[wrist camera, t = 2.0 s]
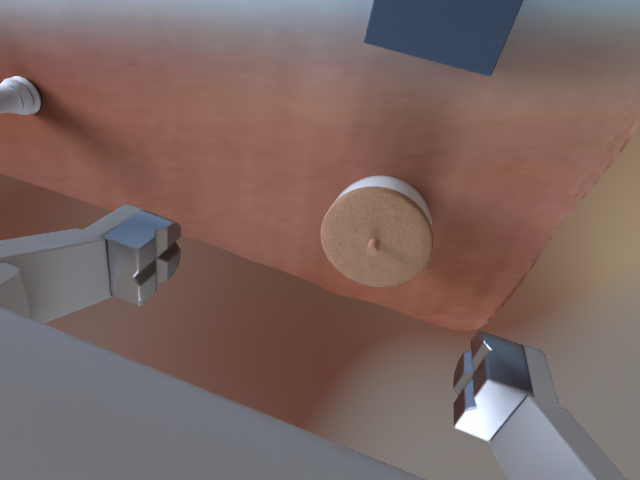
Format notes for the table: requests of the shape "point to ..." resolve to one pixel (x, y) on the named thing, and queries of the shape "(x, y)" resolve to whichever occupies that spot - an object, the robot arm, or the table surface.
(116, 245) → the robot arm
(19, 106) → the rook chess piece
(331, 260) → the trinket box
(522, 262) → the table surface
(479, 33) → the blue box
